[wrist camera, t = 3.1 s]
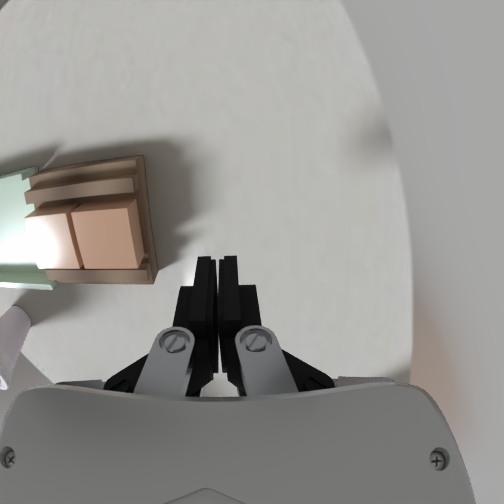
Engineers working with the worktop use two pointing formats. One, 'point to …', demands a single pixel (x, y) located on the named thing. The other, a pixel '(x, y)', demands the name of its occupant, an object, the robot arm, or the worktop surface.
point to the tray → (18, 235)
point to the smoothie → (11, 341)
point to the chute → (93, 190)
